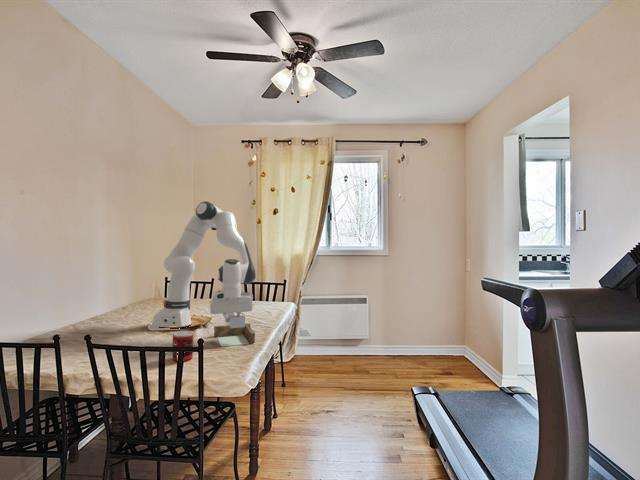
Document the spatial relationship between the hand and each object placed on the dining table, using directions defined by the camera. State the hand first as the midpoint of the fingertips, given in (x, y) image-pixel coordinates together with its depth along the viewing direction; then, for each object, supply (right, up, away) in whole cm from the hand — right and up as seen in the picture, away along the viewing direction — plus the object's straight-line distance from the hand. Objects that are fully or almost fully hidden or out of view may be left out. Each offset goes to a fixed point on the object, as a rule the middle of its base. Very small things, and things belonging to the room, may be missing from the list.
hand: (231, 321), depth 176 cm
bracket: (+2, -2, +1) cm, 3 cm away
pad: (0, -10, +1) cm, 10 cm away
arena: (+1, -10, +3) cm, 10 cm away
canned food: (-14, -10, -25) cm, 30 cm away
